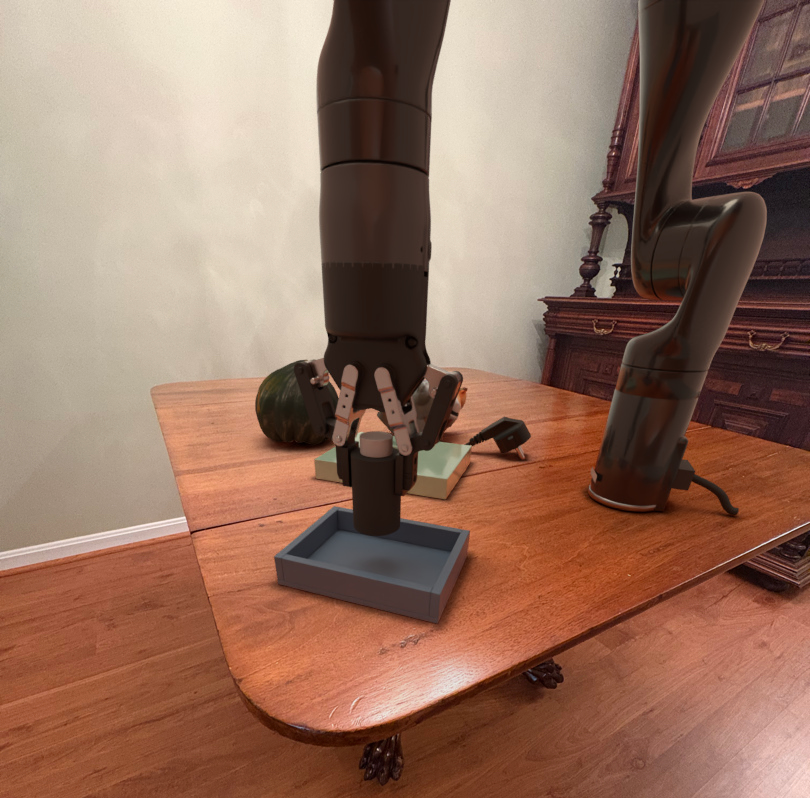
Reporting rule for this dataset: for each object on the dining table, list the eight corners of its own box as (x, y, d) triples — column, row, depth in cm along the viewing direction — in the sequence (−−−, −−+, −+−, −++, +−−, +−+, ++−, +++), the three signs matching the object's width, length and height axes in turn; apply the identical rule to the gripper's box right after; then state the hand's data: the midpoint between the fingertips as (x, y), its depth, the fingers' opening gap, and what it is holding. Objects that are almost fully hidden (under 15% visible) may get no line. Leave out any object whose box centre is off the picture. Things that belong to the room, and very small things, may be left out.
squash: (252, 401, 82) (249, 342, 69) (328, 400, 88) (339, 346, 74) (261, 465, 78) (260, 417, 65) (341, 461, 84) (355, 415, 70)
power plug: (457, 442, 78) (517, 406, 73) (477, 475, 80) (537, 444, 75) (453, 451, 73) (518, 414, 68) (475, 487, 75) (539, 453, 70)
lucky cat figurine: (416, 424, 91) (452, 365, 84) (449, 459, 86) (490, 400, 79) (364, 413, 80) (400, 345, 73) (398, 453, 75) (440, 383, 68)
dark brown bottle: (406, 519, 41) (409, 432, 37) (390, 540, 37) (391, 445, 33) (365, 511, 42) (363, 426, 38) (345, 531, 39) (340, 439, 34)
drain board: (470, 463, 71) (472, 445, 69) (445, 499, 57) (447, 479, 56) (360, 448, 76) (360, 431, 75) (315, 478, 63) (313, 459, 62)
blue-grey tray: (467, 556, 45) (470, 530, 43) (437, 624, 35) (440, 594, 34) (335, 529, 49) (333, 505, 48) (277, 584, 40) (273, 556, 38)
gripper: (255, 255, 28) (284, 491, 37) (464, 255, 25) (443, 519, 33) (312, 264, 35) (326, 464, 43) (486, 265, 31) (464, 485, 39)
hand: (376, 487), depth 38 cm, fingers closed on dark brown bottle, 4 cm apart
